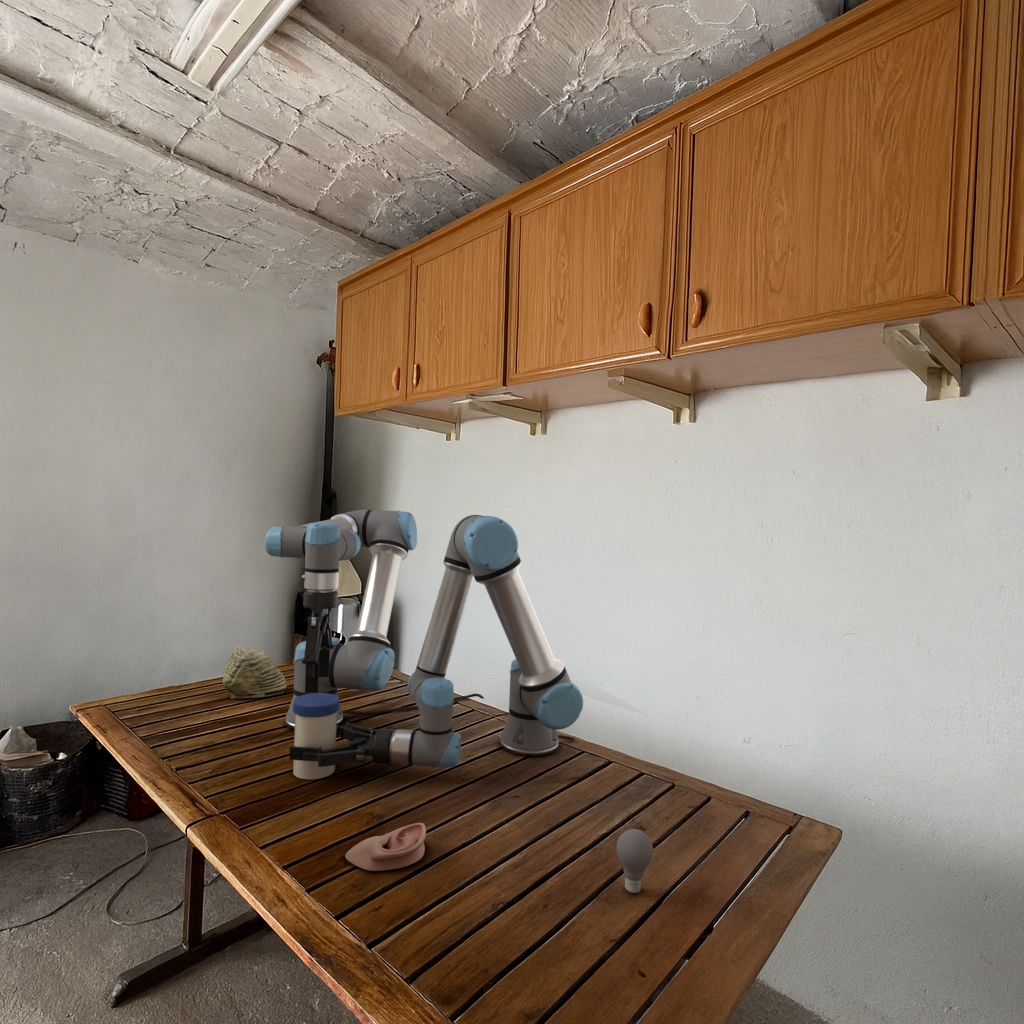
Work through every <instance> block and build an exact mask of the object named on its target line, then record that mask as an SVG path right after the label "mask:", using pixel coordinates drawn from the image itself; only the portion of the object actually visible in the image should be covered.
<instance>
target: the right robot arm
mask: <svg viewBox="0 0 1024 1024" xmlns="http://www.w3.org/2000/svg"><path fill="white" fill-rule="evenodd" d="M515 531H516V530H514V528H513V526H511V525H510V524H509V523H508V522H506V521H505V520H504V519H502V518H500V517H497V516H495V515H494V516H493V515H481V514H471V515H467V516H465V517H463V518H462V519H460V520H459V521H458V522H457V523H456V524H455V526H454V528H453V529H452V531H451V534H450V537H449V541H448V544H447V548H446V551H445V555H444V559H443V565H444V567H445V569H444V573H443V575H442V580H441V582H440V583H441V584H440V587H439V590H438V592H437V597H436V600H435V604H434V607H433V609H432V613H431V617H430V620H429V623H428V627H427V630H426V633H425V637H424V640H423V644H422V647H421V650H420V654H419V657H418V660H417V663H416V667H415V669H414V672H412V673H411V675H410V676H409V677H408V679H407V690H408V694H409V696H410V698H411V700H412V701H414V703H415V706H417V707H418V708H417V709H418V710H419V726H418V730H413V729H401V728H400V729H399V728H398V729H396V730H394V729H392V728H378V729H377V728H371V727H366V726H363V725H360V724H356V723H351V722H346V723H344V724H340V725H339V726H337V731H336V739H339V740H343V739H344V740H346V741H348V742H347V743H346V744H343V745H338V746H336V747H333V748H329V749H324V750H322V748H321V747H319V748H312V747H296V746H294V745H291V746H290V747H289V761H293V760H301V761H318V767H325V766H332V765H335V766H340V765H346V764H363V763H365V761H366V757H372V761H373V763H374V764H377V765H379V764H380V765H389V764H391V763H392V765H397V766H398V765H399V766H401V765H402V767H404V768H405V767H407V766H418V767H427V768H429V767H430V768H437V769H440V768H441V769H443V768H446V769H447V768H455V767H457V766H458V765H459V762H460V758H461V752H462V751H461V750H462V736H461V734H460V733H458V732H455V731H453V714H454V698H455V694H454V693H455V691H454V683H453V681H451V680H450V679H447V678H446V675H447V670H448V667H449V664H450V661H451V658H452V654H453V650H454V647H455V644H456V641H457V638H458V635H459V630H460V627H461V624H462V621H463V617H464V614H465V611H466V607H467V604H468V600H469V598H470V594H471V591H472V587H473V584H474V580H475V582H476V583H479V584H480V585H483V586H484V587H485V589H486V592H487V594H488V596H489V599H490V601H491V604H492V606H493V608H494V610H495V613H496V616H497V618H498V620H499V623H500V625H501V627H502V629H503V632H504V635H505V636H506V638H507V639H506V640H507V641H508V644H509V646H510V648H511V650H512V653H513V655H514V659H513V660H512V661H511V664H510V670H509V674H510V675H509V676H510V677H509V679H510V680H509V697H508V699H509V700H508V702H509V703H508V715H507V719H506V721H505V724H504V726H503V729H502V732H501V736H500V746H501V748H502V749H503V750H505V751H507V752H509V753H512V754H514V755H518V756H525V757H542V756H547V755H551V754H554V753H555V752H557V750H558V749H559V744H560V742H559V739H561V740H567V741H574V740H575V737H574V736H567V735H560V734H558V731H560V730H564V729H566V728H569V727H570V726H572V725H573V724H575V723H576V722H577V720H578V719H579V717H580V716H581V713H582V711H583V708H584V696H583V693H582V691H581V690H580V688H579V687H578V685H576V684H575V683H573V682H572V680H571V678H570V676H569V673H568V671H567V669H566V666H565V663H564V662H563V661H562V660H560V659H557V658H555V655H554V653H553V651H552V649H551V647H550V644H549V641H548V639H547V636H546V634H545V631H544V630H543V627H542V625H541V623H540V620H539V618H538V615H537V612H536V610H535V608H534V605H533V603H532V600H531V598H530V596H529V594H528V591H527V588H526V586H525V584H524V581H523V579H522V577H521V574H520V572H519V570H520V567H521V565H522V560H521V557H520V555H519V553H518V550H519V540H518V536H517V533H516V532H515ZM571 737H572V738H571Z"/></svg>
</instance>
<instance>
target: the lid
mask: <svg viewBox="0 0 1024 1024" xmlns="http://www.w3.org/2000/svg"><path fill="white" fill-rule="evenodd" d="M340 706H341V702H340V697H339V695H338V696H336V695H334V694H329V693H311V694H306V695H302V696H299V697H297V698H295V699H294V703H293V712H294V713H295V714H297V715H299V716H304V717H322V716H327V715H331V714H334V713H336V712H337V711H338V710H339V708H340Z"/></svg>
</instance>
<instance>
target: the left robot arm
mask: <svg viewBox="0 0 1024 1024" xmlns="http://www.w3.org/2000/svg"><path fill="white" fill-rule="evenodd" d="M417 545H418V527H417V522H416V518H415V516H414V515H413V514H412V513H411V512H409V511H401V510H381V509H380V510H379V509H358V510H352V511H347V512H344V513H338V514H335V515H333V516H332V517H330V519H326V520H320V521H314V522H310V523H306V524H301V525H295V526H284V525H282V526H271V527H270V528H269V529H268V530H267V532H266V534H265V537H264V548H265V551H266V553H267V554H268V555H269V556H270V557H277V558H278V557H279V558H281V559H283V558H291V559H292V558H293V559H305V560H304V574H302V575H301V578H302V580H304V583H303V587H304V589H305V590H304V592H303V602H302V603H303V604H302V605H303V607H304V608H306V609H311V610H312V612H311V615H310V616H308V618H307V629H306V637H305V640H304V641H302V642H299V643H298V644H297V645H296V647H295V652H294V653H295V654H294V659H293V661H294V672H293V695H292V696H293V697H292V699H291V702H290V704H289V708H288V711H287V713H286V715H285V726H286V728H287V729H289V730H291V731H295V713H294V712H293V703H294V699H295V698H297V697H299V696H302V695H306V694H311V693H329V694H334V695H336V696H338V697H339V695H338V689H346V690H357V691H364V692H368V691H370V692H371V691H373V692H377V691H381V690H382V689H384V688H385V686H386V685H387V684H388V683H389V681H390V680H391V679H390V678H391V677H392V674H393V671H394V666H395V657H396V655H395V652H394V650H393V649H392V648H391V642H390V641H389V639H388V638H387V636H388V631H389V626H390V621H391V616H392V611H393V605H394V600H395V595H396V592H397V586H398V580H399V574H400V570H401V564H402V561H404V560H406V559H407V558H408V557H409V551H411V552H412V551H414V550H415V549H416V547H417ZM361 548H368V551H369V553H370V554H371V555H372V557H371V558H372V559H371V562H370V567H369V572H368V576H367V581H366V584H365V590H364V593H363V599H362V603H361V607H360V612H359V615H358V620H357V625H356V631H355V632H354V633H353V634H351V635H350V636H348V641H347V644H341V641H340V639H339V638H338V637H334V636H333V633H332V632H333V631H332V630H333V629H332V611H333V610H332V609H335V608H337V606H338V600H339V592H338V591H337V590H338V589H339V582H340V581H339V579H340V562H341V561H348V560H350V559H352V558H354V557H355V556H357V555H358V553H359V552H360V549H361ZM474 697H478V698H480V699H482V700H484V699H485V697H484V696H483V695H482V694H480V693H471V694H467V695H463V696H457V697H456V696H455V697H454V701H459V700H466V699H469V698H474ZM454 701H453V702H454ZM416 709H418V707H417V705H411V706H402V707H392V708H386V709H378V710H369V711H364V710H363V711H361V710H343V709H342V706H341V705H340V708H339V710H338V711H337V726H341V725H342V723H343V722H344V715H347V714H348V715H377V714H384V713H391V712H399V711H408V710H416Z"/></svg>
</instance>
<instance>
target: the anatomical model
mask: <svg viewBox="0 0 1024 1024" xmlns="http://www.w3.org/2000/svg"><path fill="white" fill-rule="evenodd" d="M426 837H427V827H426V824H425V823H423V822H415V823H412V824H408V825H404V826H402V827H399V828H396V829H394V830H392V831H390V832H388V833H384V834H382V835H375V836H372V837H367V838H365V839H364V840H361V841H360V842H358V843H357V844H356V845H353V847H351V848H350V849H349V850H348V851H347V852H346V853H345V856H344V857H345V860H347V862H349V863H350V864H352V865H354V866H356V867H357V868H360V869H362V870H364V871H367V872H378V871H380V872H381V871H389V870H396V869H400V868H404V867H407V866H410V865H412V864H415V863H417V862H418V861H420V860H421V859H422V858H423V857H424V854H425V851H426V849H425V848H426V846H425V843H424V842H425V840H426Z"/></svg>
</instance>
